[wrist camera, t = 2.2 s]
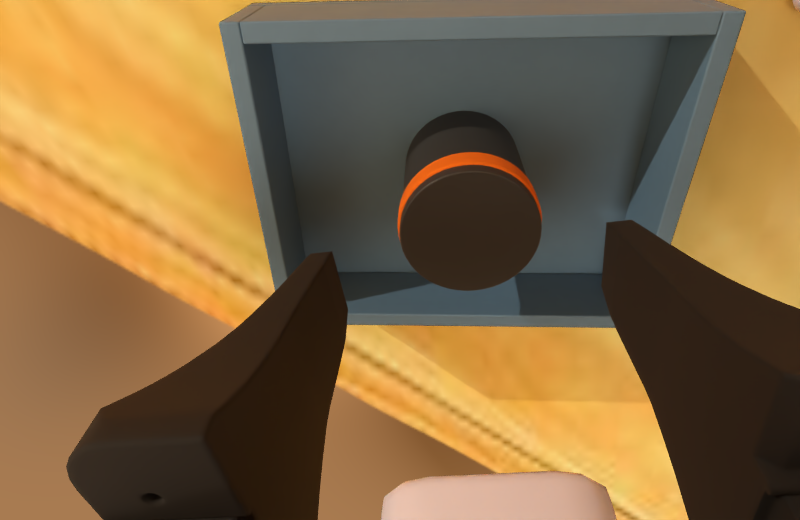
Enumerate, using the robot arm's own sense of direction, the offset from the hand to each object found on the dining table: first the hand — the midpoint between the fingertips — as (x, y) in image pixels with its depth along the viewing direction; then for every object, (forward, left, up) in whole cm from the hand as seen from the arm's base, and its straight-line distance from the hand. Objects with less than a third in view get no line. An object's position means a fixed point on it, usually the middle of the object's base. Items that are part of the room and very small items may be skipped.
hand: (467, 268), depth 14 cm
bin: (0, 0, -7) cm, 7 cm away
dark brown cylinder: (0, 0, -7) cm, 7 cm away
